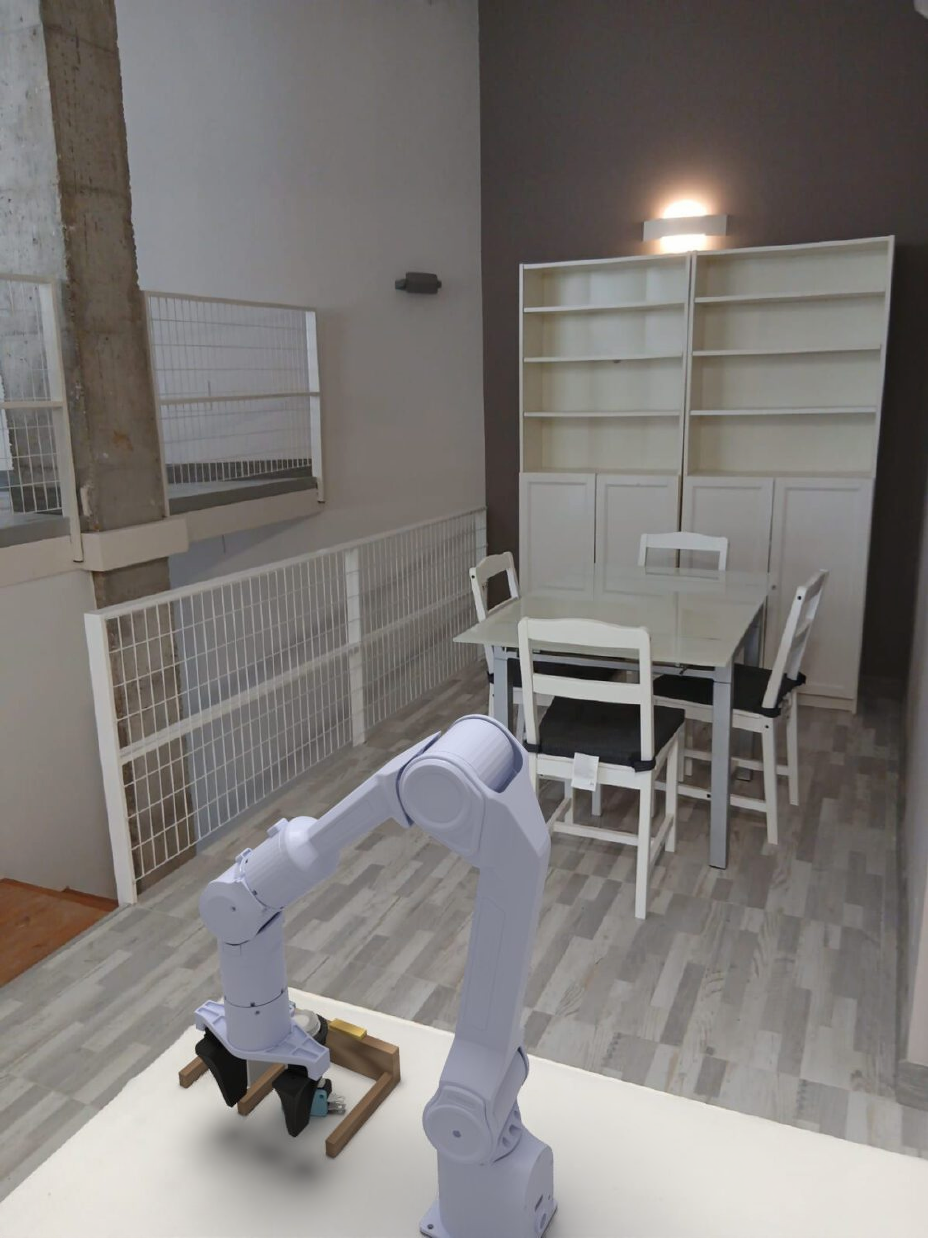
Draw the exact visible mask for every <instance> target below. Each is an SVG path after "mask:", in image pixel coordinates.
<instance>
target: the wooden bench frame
mask: <svg viewBox="0 0 928 1238" xmlns="http://www.w3.org/2000/svg"><path fill="white" fill-rule="evenodd" d="M296 1004H297V1003H296V1002H294V1001H292V1000H290V999H289V1005H291V1006H293V1007H294V1009H295V1011H296V1010H302V1008H299V1007H297V1005H296ZM323 1018H324V1019H325V1020H326V1021H327V1024H328V1034H327V1036H326V1044H325V1045H324V1047H326V1048H329V1054H330V1063H333V1064H336V1065H338V1066H340V1067H342V1068H345V1069H347V1070H351V1071H353V1072H356V1073H357V1074H360V1075H363V1076H365V1077H367V1078H369V1079H373V1080H375V1081H376V1082H375V1083H374V1084H373V1085H372V1086H371V1088H370V1089H369V1090H368V1091H367V1092H366V1093H365V1094H364V1096H363V1097H362V1098H361V1099H360V1100H359V1101H358V1102H357V1104H355V1106H354V1107H353V1108H352V1109H351V1110H350V1112H349V1113H348V1114H347V1115H346V1116H345V1117H344V1118H343V1120H342V1121H340V1123H339V1124H338V1125H337V1126H336V1127H335V1128H334V1130H333V1131H332V1132H331V1133H330V1134H329V1135H328V1136H327V1137H326V1138H325V1140H324V1142H325V1154H326V1155H328V1156H330V1157H333V1158H336V1157H337V1156H338V1155H339V1153H340V1152H341V1151H342V1150H343V1149H344V1148H345V1147H346V1145H347V1144H348V1143H349V1142H350V1141H351V1140H352V1138H353V1137H354V1136H355V1134H356V1133H357V1132H359V1130H360V1129H361V1128H362V1127H363V1125H364V1124H365V1123H366V1122H367V1120H369V1118H370V1117H371V1115H373V1113H374V1112H375V1111H376V1110H377V1109H378V1108H379V1106H380V1105H381V1104H382V1103H383V1102H384V1100H385V1099H386V1098H387V1097H388V1096H389V1094H391V1092H392V1091H393V1090H394V1088H396V1086H398V1084H399V1083H400V1082H401V1079H402V1078H401V1059H400V1046H399V1045H395V1044H392V1043H390V1042H387V1041H385V1040H382V1039H381V1038H376V1037H374V1036H372V1035H369V1034H368V1031H367V1029H366V1028H363V1027H361V1026H358V1025H355V1024H353V1023H350V1022H347V1021H345V1020H343V1019H339V1018H338V1017H337V1018H336V1017H335V1018H334V1019H333V1020H330V1019H327V1018H325V1017H323ZM319 1034H320V1033H319ZM208 1070H209V1068H208V1067H207V1065H206V1064H205V1063H204V1062H203V1061H202V1059H201V1058H200V1057H199V1056H198V1055H196V1057H195V1058H194V1059H193V1060H192V1061H190V1062H189V1063H188V1064H187V1065H186V1066H184V1067H183V1068H182V1069H181V1070H180V1071H178V1080H179V1081H178V1082H179V1086H182V1087H184V1088H185V1089H188V1088H189V1087H190V1086H191V1085H192V1084H193V1083H195V1081H197V1080H198V1079H199V1078H200V1077H201V1076H202V1075H204V1074H205V1073H206V1072H207V1071H208ZM284 1070H285V1063H274V1064H273V1065H272V1066H271V1067H270V1068H269V1069H268V1070H267V1071H266V1072H265V1073H264V1074H263V1075H262V1076H261V1077H260V1078H259V1079H258V1080H257V1081H256V1082H254V1083H253V1084H252V1085H251V1086H250V1087H249V1086H248V1087H247V1094H246V1095H245V1096H244V1097H243V1098H242V1099H241V1100H240V1101H239V1102H238V1103H236V1106H237V1107H236V1109H237V1113H239V1114H241V1115H243V1116H247V1115H248V1114H249V1113H250V1112H251V1111H252V1110H253V1109H254V1108H255V1107H257V1105H258V1104H259V1103H260V1102H261V1101H263V1099H264V1098H265V1097H266V1096H267V1095H269V1093H270V1092H271V1091H272V1090H274V1088H273V1087H272V1082H273V1081H274V1080H275V1079H276V1078H277V1077H278V1076H279V1075H280V1074H281V1073H282V1072H283V1071H284Z"/></svg>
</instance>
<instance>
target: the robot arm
mask: <svg viewBox="0 0 928 1238" xmlns="http://www.w3.org/2000/svg"><path fill="white" fill-rule="evenodd" d="M441 734H442V731H441V730H439V731H437V732H436V733H435V732H434V733H433V734H431V735H429V736H427V737H426V738H425V739H423V740H421V741H420V742H417V743H416V744H413V746H411V747H410V748H408V749H407V750H405V751H404V752H402V753H400V754H398V755H397V756H395V757H394V758H393V759H391V760H390V761H388V762H387V763H386V764H385V765H383V766H382V767H381V768H379V769H378V770H377V771H376V772H375V773H374V774H372V775H371V776H370V777H368V779H366V780H365V781H364V782H363V783H361V784H360V785H359V786H358V787H357V788H355V789H354V790H352V792H351V793H349V794H348V795H347V796H346V797H344V798H343V799H341V801H340V802H338V803H337V804H336V805H334V807H332V808H331V809H330V810H329V811H328V810H327V812H326V813H324V814H323V815H322V816H320V818H318V819H317V818H314V817H311V816H305V815H304V816H303V815H300V816H297V817H293V818H292V819H290V820H289V821H288V820H287V818H285V817H282V818H281V819H280V820H278V821H277V822H276V823H275V824H274V825H272V826H271V827H269V828H268V829H267V830H266V833H267V835H268V836H269V837H268V838H266V839H265V840H264V841H263V842H261V844H259V845H258V846H257V847H255V848H254V849H252V848H250V847H246V849H244V850H243V851H241V853H239V854H238V855H237V856H236V857H235V858H234V859H235V863H234V864H232V866H230V867H229V868H228V869H227V870H226V871H224V872H223V873H222V874H220V876H218V877H217V878H216V879H214V880H212V881H209V882H208V884H207V885H206V888H204V890H203V891H202V892H201V894H200V896H199V900H198V911H199V912H198V913H199V915H200V919H201V920H202V923H203V925H204V927H205V928H206V930H207V931H209V933H210V934H212V936H213V937H215V938H216V943H217V951H218V963H219V971H220V972H219V973H220V982H221V989H222V999H223V1003H221V1002H217V1001H215V1000H211V999H208V1000H207V1001H205V1002H204V1003H203V1004H201V1006H199V1007H198V1008H197V1009H195V1010H194V1011H193V1015H194V1025H195V1029H196V1030H198V1031H200V1032H204V1034H203V1037H202V1038H201V1039H200V1040H198V1042H197V1043H196V1044H195V1046H194V1051H195V1052H194V1053H195V1055H196V1056H199V1057H200V1058H201V1059H202V1061H203V1062H204V1063H205V1064H206V1065H207V1067H208V1068H209V1069H208V1070H209V1071H210V1073H211V1074H212V1076H213V1077H214V1080H215V1082H216V1085H217V1086H218V1088H219V1091H220V1093H221V1096H222V1097H223V1100H224V1102H225V1104H226V1106H228V1107H230V1108H232V1109H233V1107H235V1105H237V1103H238V1102H239V1101H240V1100H241V1099H242V1098H243V1097H244V1096H245V1095H246V1094H247V1089H248V1087H249V1086H248V1076H247V1060H256V1061H266V1062H276V1063H286V1064H288V1068H287V1069H285V1070H284V1071H283V1072H282V1073H281V1074H280V1075H279V1076H278V1077H277V1078H276V1079H275V1080H274V1081H273V1082H272V1087H273V1090H274V1091H275V1092H276V1094H277V1096H278V1097H279V1099H280V1104H281V1103H282V1106H283V1109H284V1111H283V1114H284V1119H285V1120H284V1121H285V1127H286V1130H287V1133H288V1136H290V1137H292V1138H297V1137H298V1136H299V1135H300V1134H301V1133H302V1131H304V1130H305V1129H306V1128H307V1127H308V1125H309V1124H310V1117H311V1115H310V1113H311V1108H312V1103H313V1099H314V1096H315V1092H316V1089H317V1087H318V1084H319V1082H320V1080H321V1077H323V1076H324V1075H325V1073H326V1072H327V1071H328V1070H329V1069H330V1068H331V1062H330V1054H329V1048H326V1047H324V1046H322V1045H321V1044H319V1043H318V1042H317V1041H315V1040H314V1039H313V1038H312V1037H311V1036H310V1035H309V1034H308V1033H307V1032H306V1031H305V1030H304V1029H303V1028H302V1027H301V1026H300V1025H299V1024H298V1023H297V1022H296V1021H295V1020H294V1019H293V1018H292V1017H293V1016H294V1015H295V1009H294V1007H293V1006H291V1005H289V1000H290V997H289V986H288V985H289V984H288V975H287V974H288V973H287V963H286V950H285V939H284V927H283V925H284V924H285V922H286V917H285V916H286V915H285V912H286V911H285V910H286V909H288V908H289V907H291V906H292V905H294V903H296V902H298V901H299V900H300V899H301V898H303V897H304V896H306V895H307V894H308V893H310V892H311V891H313V890H314V889H316V888H317V887H318V886H320V885H322V883H324V882H325V881H327V880H328V879H330V878H332V876H333V875H335V873H336V872H337V871H338V869H339V865H340V860H341V859H340V858H341V851H342V850H344V849H345V848H346V847H348V846H350V845H351V844H353V843H354V842H356V841H357V840H359V839H360V838H361V837H363V836H365V835H366V834H368V833H369V832H370V831H372V830H373V829H376V828H377V827H379V826H380V825H381V824H383V823H384V822H386V821H387V820H388V819H391V818H392V819H393V820H394V821H396V823H397V824H399V825H400V826H401V827H402V828H405V829H411V828H412V827H413V826H415V825H414V824H416V825H417V826H418V827H419V828H420V829H422V830H423V832H425V833H426V834H428V835H430V836H431V837H432V838H433V839H435V840H437V841H438V842H440V843H441V844H442V845H443V846H445V847H446V848H448V849H449V850H450V851H452V852H453V853H455V855H457V856H459V857H460V858H462V859H463V860H465V861H466V862H467V863H469V864H470V865H471V866H473V867H474V868H476V869H477V868H478V870H479V876H478V882H477V888H476V894H475V895H476V896H475V900H474V901H475V902H474V906H473V907H474V908H473V914H472V920H471V921H472V922H471V926H470V933H469V934H470V935H469V940H468V946H467V951H466V952H467V953H466V959H465V967H464V972H463V978H462V979H463V980H462V985H461V992H460V999H459V1004H458V1005H459V1006H458V1012H457V1017H456V1024H455V1031H454V1038H453V1041H452V1044H451V1046H450V1050H449V1052H448V1055H447V1057H446V1060H445V1063H444V1066H443V1068H442V1071H441V1074H440V1077H439V1081H438V1088H437V1089H436V1090H435V1093H434V1094H433V1096H432V1097H431V1098H430V1100H429V1101H428V1102H427V1103H426V1105H425V1106H424V1108H423V1111H422V1116H421V1118H422V1119H421V1121H422V1128H423V1131H424V1134H425V1136H426V1138H427V1140H428V1142H429V1143H430V1144H431V1146H432V1147H433V1148H434V1149H435V1150H436V1159H437V1163H436V1164H437V1184H438V1188H437V1189H438V1195H437V1198H436V1199H435V1200H434V1202H433V1203H432V1204H431V1206H430V1207H429V1209H428V1211H427V1212H425V1213H426V1214H425V1215H424V1216H423V1218H422V1219H421V1221H420V1223H419V1230H420V1232H421V1233H423V1234H425V1235H426V1236H427V1235H428V1236H429V1237H431V1238H541V1237H542V1236H543V1233H544V1232H545V1230H546V1228H547V1227H548V1224H549V1223H550V1220H551V1219H552V1217H553V1215H554V1213H555V1211H556V1209H557V1208H558V1200H557V1199H555V1197H554V1195H555V1193H554V1188H555V1187H554V1185H555V1183H554V1151H553V1149H552V1147H551V1146H550V1145H548V1144H547V1143H546V1142H544V1141H543V1140H540V1139H539V1138H538V1137H536V1136H535V1135H534V1134H533V1133H532V1132H530V1131H529V1129H528V1128H527V1127H526V1126H525V1125H524V1124H523V1121H522V1114H521V1110H520V1107H519V1103H518V1095H519V1093H520V1091H521V1089H522V1087H523V1085H524V1084H525V1082H526V1080H527V1079H528V1076H529V1074H530V1073H529V1072H530V1060H529V1056H528V1053H527V1051H526V1048H525V1041H524V1040H525V1035H526V1034H525V1033H526V1027H525V1026H524V1025H523V1024H522V1023H521V1020H522V1019H521V1018H522V1013H523V1009H524V1008H523V1006H524V1003H525V1002H524V1001H525V995H526V990H527V985H528V984H527V983H528V979H529V973H530V968H531V963H532V957H533V951H534V945H535V940H536V934H537V929H538V923H539V918H540V912H541V907H542V901H543V895H544V890H545V885H546V884H545V883H546V877H547V872H548V867H549V861H550V855H551V851H552V841H551V840H552V839H551V835H550V832H549V829H548V826H547V823H546V821H545V817H544V815H543V812H542V808H541V806H540V804H539V800H538V798H537V795H536V792H535V788H534V786H533V783H532V780H531V776H530V775H531V774H530V759H529V758H530V757H529V752H528V750H527V749H526V748H525V747H524V746H523V745H522V744H521V742H520V741H519V740H518V739H517V738H516V737H515V736H514V735H513V734H512V732H511V731H510V730H509V728H507V726H505V725H504V724H503V723H502V722H500V721H499V720H498V719H495V718H494V717H491V716H489V715H484V714H479V713H476V714H466V715H464V716H462V717H459V718H458V719H457V720H455V721H454V722H453V723H452V724H451V725H450V727H448V728H447V730H446V732H445V733H444V734H443V735H442V736H441ZM440 736H441V737H440Z"/></svg>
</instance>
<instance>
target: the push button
mask: <svg viewBox="0 0 928 1238" xmlns="http://www.w3.org/2000/svg"><path fill="white" fill-rule="evenodd" d="M292 1018H293V1019H294V1020H295V1021H296V1022H297V1023H298V1024H299V1025H300V1026H301V1027H302V1028H303V1029H304V1030H305V1031H306V1032H307V1033H308V1034H309V1035H310V1036H311V1037H312V1038H313V1039H314V1040H315V1041H317V1042H318V1043H319V1044H321V1045H322V1046H324V1045H325V1044H326V1036H327V1034H328V1024H327V1021H326V1020H325V1019H326V1018H325V1017H323V1016H322V1015H321V1014H319V1013H316V1012H315V1011H313V1010H310V1009H306V1008H305V1009H301V1010H296V1011H295V1015H294V1016H293V1017H292ZM324 1018H325V1019H324ZM319 1033H320V1034H319ZM287 1068H288V1064H286V1063H285V1069H287ZM339 1098H340V1099H339ZM345 1099H346V1096H345V1095H339V1094H336V1093H334V1092H333V1084H332V1080H331V1079H330V1078H325V1077H323V1076H322V1077H321V1080H320V1082H319V1084H318V1087H317V1089H316V1092H315V1096H314V1099H313V1103H312V1108H311V1113H310V1116H315V1117H326V1116H327V1113H328V1111H334V1110H338V1111H344V1110H345V1109H346V1106H347V1104H346V1103H344V1102H345ZM340 1106H341V1107H340ZM280 1107H281V1108H280V1109H281V1111H283V1112H284V1109H283V1106H282V1103H281V1102H280Z"/></svg>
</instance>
